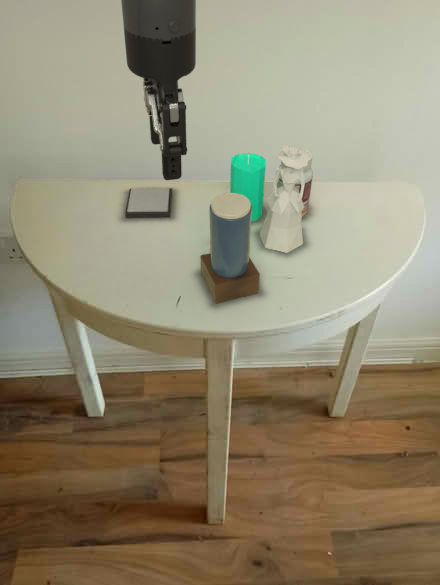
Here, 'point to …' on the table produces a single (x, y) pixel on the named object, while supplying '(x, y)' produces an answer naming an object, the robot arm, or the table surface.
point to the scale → (149, 203)
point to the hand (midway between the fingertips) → (165, 159)
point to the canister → (230, 234)
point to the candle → (249, 180)
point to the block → (229, 282)
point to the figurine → (285, 204)
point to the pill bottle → (307, 180)
